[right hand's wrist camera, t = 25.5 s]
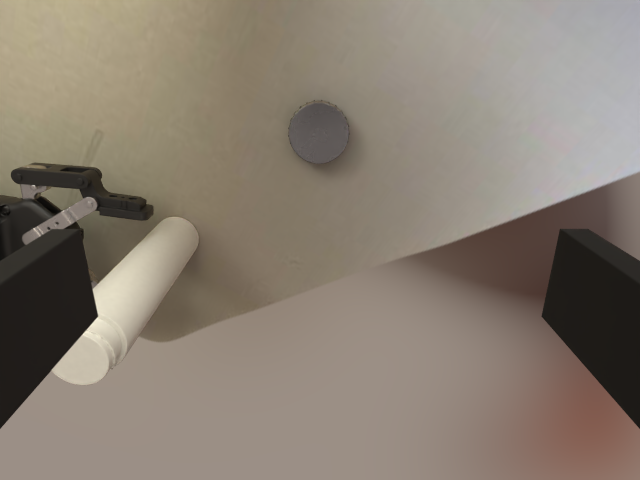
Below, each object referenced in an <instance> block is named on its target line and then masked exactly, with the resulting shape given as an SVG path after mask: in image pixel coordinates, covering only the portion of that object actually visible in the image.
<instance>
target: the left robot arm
mask: <svg viewBox="0 0 640 480" xmlns="http://www.w3.org/2000/svg"><path fill="white" fill-rule="evenodd" d="M11 177H12V179H13V181H14V182H16V183H18V184H20V185H21V191H22V197H23V198H16V197H10V196H3V195H0V261H1V260H3V259H4V258H6V257H8V256H9V255H11V254H12V253H14V252H16V251H17V250H19V249H20V248H22V247H24V246H25V245H27V244H28V243H30V242H32V241H33V240H35V239H37V238H38V237H40V236H41V235H43V234H45V233H46V232H48V231H49V230H51V229H80V227H79V225H78V224H77V222H76V221H77V220H79V219H81V218H83V217H84V216H86V215H88V214H89V213H91V212H93V211H94V210H96V211H100V215H104V216H111V217H118V218H126V219H133V220H142V221H143V220H148V219H149V218H150V217H151V216H152V215H153V205H149V204H146V200H145V199H143V198H141V197H137V196H128V195H122V194H115V193H110V192H108V191H106V190H105V188H104V187H103V185H102V182H101V178H102V173H101V171H100V170H99V169H97V168H94V167H82V166H69V165H57V164H45V163H32V164H29V165H26V166H23V167H20V168H18V169H15V170H13V171H12V172H11ZM51 187H62V188H75V189H80V192H81V194H82V196H83V199H82V200H80V201H79V202H77V203H75V204H74V205H72V206H70V207H69V208H67V209H65V210H64V211H62V210H60V209H59V208H58V207H56V206H55V205H54V204H52V203H51V202H50V201H49V200H47V199H46V198H44V197H42V196H40V194H41V192H44V191H46V190H48V189H50V188H51ZM80 232H81V237H82V241H83V238H84V233H83V229H80ZM88 270H89V274H90V279H91V284H92V289H93V288H94V287H95V286H96V285H97V284H98V283H99V282H100V281H98V280H97V279H96V278H95V274H94V273H93V272H92V271H91V270H90V269H88Z"/></svg>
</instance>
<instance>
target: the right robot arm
mask: <svg viewBox="0 0 640 480" xmlns="http://www.w3.org/2000/svg"><path fill="white" fill-rule="evenodd" d="M97 317H98V312H97V308H96V303H95V298H94V293H93V289H92V284H91V279H90V274H89V270H88V265H87V260H86V256H85V251H84V246H83V241H82V237H81V232H80V229H51V230H49V231H48V232H46V233H45V234H43V235H41V236H40V237H38V238H37V239H35V240H33V241H32V242H30V243H28V244H27V245H25V246H24V247H22V248H20V249H19V250H17V251H16V252H14V253H12V254H11V255H9V256H8V257H6V258H4V259H3V260H1V261H0V428H1V427H2V426H3V425H4V424H5V423H6V421H7V420H8V419H9V418H10V417H11V416H12V415H13V414H14V412H15V411H16V410H17V409H18V408H19V407H20V405H21V404H22V403H23V402H24V401H25V400H26V399H27V398H28V396H29V395H30V394H31V393H32V392H33V391H34V389H35V388H36V387H37V386H38V385H39V384H40V383H41V381H42V380H43V379H44V378H45V377H46V376H47V375H48V373H49V372H50V371H51V370H52V369H53V368H54V367H55V365H56V364H57V363H58V362H59V361H60V360H61V359H62V357H63V356H64V355H65V354H66V353H67V352H68V351H69V349H70V348H71V347H72V346H73V345H74V344H75V343H76V341H77V340H78V339H79V338H80V337H81V336H82V335H83V333H84V332H85V331H86V330H87V329H88V328H89V327H90V325H91V324H92V323H93V322H94V321H95V320H96V318H97ZM542 317H543V318H544V320H545V321H546V322H547V323H548V324H549V325H550V327H551V328H552V329H553V330H554V331H555V332H556V333H557V334H558V336H559V337H560V338H561V339H562V340H563V341H564V342H565V344H566V345H567V346H568V347H569V348H570V349H571V351H572V352H573V353H574V354H575V355H576V356H577V357H578V359H579V360H580V361H581V362H582V363H583V364H584V365H585V367H586V368H587V369H588V370H589V371H590V372H591V373H592V375H593V376H594V377H595V378H596V379H597V380H598V381H599V383H600V384H601V385H602V386H603V387H604V388H605V389H606V391H607V392H608V393H609V394H610V395H611V396H612V398H613V399H614V400H615V401H616V402H617V403H618V404H619V406H620V407H621V408H622V409H623V410H624V411H625V412H626V414H627V415H628V416H629V417H630V418H631V419H632V420H633V422H634V423H635V424H636V425H637V426H638V427H639V428H640V261H639V260H637V259H636V258H634V257H632V256H631V255H629V254H628V253H626V252H624V251H623V250H621V249H620V248H618V247H616V246H615V245H613V244H612V243H610V242H608V241H607V240H605V239H603V238H602V237H600V236H599V235H597V234H595V233H594V232H592V231H590V230H589V229H560V232H559V237H558V241H557V246H556V251H555V256H554V260H553V265H552V270H551V274H550V279H549V284H548V289H547V293H546V298H545V303H544V308H543V313H542Z"/></svg>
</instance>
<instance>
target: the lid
mask: <svg viewBox="0 0 640 480" xmlns="http://www.w3.org/2000/svg"><path fill="white" fill-rule="evenodd" d="M346 120H347V119H346V117H344V115H343V114H342V111H340V110H339V109H338V108H337V106H336V105H335V106H334V105H333V104H331V103H330V102H324V101H322V100H321V101H315V100H314V101H313V102H310V103H308V102H307V103H306V104H305V105H304V106H302V107H300V108H299V110H298V111H297V112H295V113H294V117H293V118H292V119H291V124H290V126H289V135H288V136H289V139H290V144H291V145H292V148H293V149H294V151H295V152H296V153H297V154H298V155H299V156H300V157H301V158H302V159H304V160H306V161H308V162H311V163H317V164H322V163H327V162H330V161H332V160H334V159H335V158H337V157H338V156H339V155H340V154H341V153H342V152H343V150H344V149H345V147H346V145H347V142H348V137H349V130H348V127H349V126H348V124H347V122H346Z"/></svg>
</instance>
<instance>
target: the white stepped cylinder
mask: <svg viewBox="0 0 640 480" xmlns="http://www.w3.org/2000/svg"><path fill="white" fill-rule="evenodd" d="M198 244H199V235H198V232H197V230H196V228H195V227H194V226H193V224H191V223H190V222H189V221H188V220H186V219H183V218H180V217H168V218H165V219H164V220H162V221H161V222H160V223H159V224H158V225H157V226H156V227H155V228H154V229H153V230H152V231H151V232H150V233H149V234H148V235H147V236H146V237H145V238H144V239H143V240H142V241H141V242H140V243H139V244H138V245H137V246H136V247H135V248H134V249H133V250H132V251H131V252H130V253H129V254H128V255H127V256H126V257H125V258H124V259H123V260H122V261H121V262H120V263H119V264H118V265H117V266H116V267H115V268H114V269H113V270H112V271H111V272H110V273H109V274H108V275H107V276H106V277H105V278H104V279H103V280H101V281H100V282H99V283H98V284H97V285H96V286H95V287H94V288H93V293H94V298H95V303H96V308H97V312H98V317H97V318H96V320H95V321H94V322H93V323H92V324H91V325H90V327H89V328H88V329H87V330H86V331H85V332H84V333H83V335H82V336H81V337H80V338H79V339H78V340H77V341H76V343H75V344H74V345H73V346H72V347H71V348H70V349H69V351H68V352H67V353H66V354H65V355H64V356H63V357H62V359H61V360H60V361H59V362H58V363H57V364H56V365H55V367H54V368H53V369H52V370H51V371H52V372H53V373H54V374H55V375H56V376H58V377H59V378H61V379H62V380H64V381H66V382H68V383H72V384H76V385H90V384H94V383H96V382H98V381H100V380H102V379H103V378H104V377H105V375H106V374H107V373H108V371H109V370H110V369H113V367H114V366H116V365H118V364H119V363H120V362H121V361H122V360H123V359H124V357H125V356H126V354H127V353H128V351H129V350H130V348H131V347H132V345H133V344H134V342H135V341H136V339H137V338H138V336H139V335H140V333H141V332H142V330H143V329H144V327H145V326H146V324H147V323H148V321H149V320H150V318H151V317H152V315H153V314H154V312H155V311H156V309H157V308H158V306H159V305H160V303H161V301H162V300H163V298H164V297H165V295H166V294H167V292H168V291H169V289H170V288H171V286H172V285H173V283H174V282H175V280H176V279H177V277H178V276H179V274H180V273H181V271H182V270H183V268H184V267H185V265H186V264H187V262H188V261H189V259H190V258H191V256H192V255H193V253H194V252H195V250H196V249H197V247H198Z"/></svg>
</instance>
